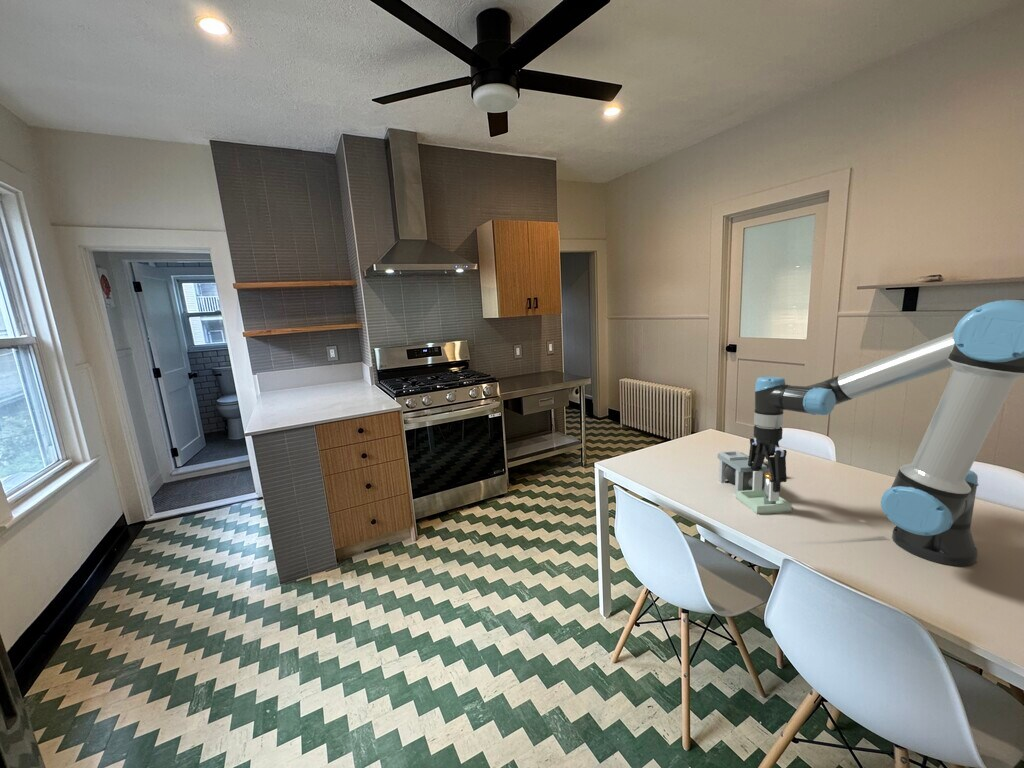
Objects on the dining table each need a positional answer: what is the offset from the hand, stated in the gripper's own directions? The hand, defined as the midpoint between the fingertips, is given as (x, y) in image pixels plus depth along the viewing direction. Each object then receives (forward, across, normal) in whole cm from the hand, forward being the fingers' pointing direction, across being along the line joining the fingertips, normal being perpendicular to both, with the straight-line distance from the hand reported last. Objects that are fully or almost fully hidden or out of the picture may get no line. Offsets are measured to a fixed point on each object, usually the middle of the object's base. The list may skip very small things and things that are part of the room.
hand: (765, 495), depth 124 cm
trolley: (+4, +14, 0) cm, 15 cm away
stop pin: (+2, -2, 0) cm, 3 cm away
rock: (-2, +18, -12) cm, 22 cm away
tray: (+4, +1, 0) cm, 4 cm away
